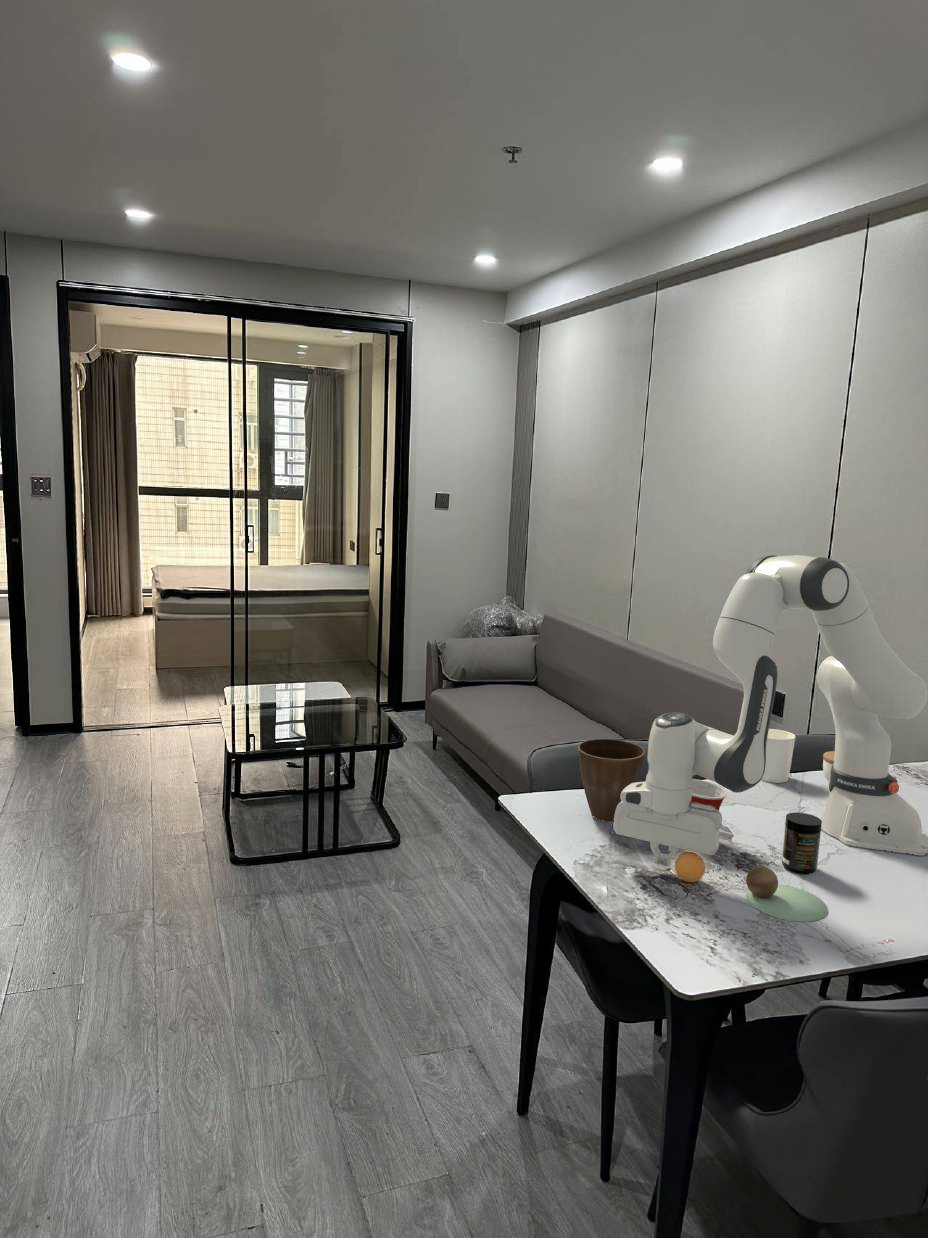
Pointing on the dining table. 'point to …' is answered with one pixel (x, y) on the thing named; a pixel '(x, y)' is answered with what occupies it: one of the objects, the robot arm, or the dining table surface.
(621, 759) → the plant pot
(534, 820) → the dining table surface
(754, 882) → the walnut ball
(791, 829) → the supplement container
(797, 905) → the sage mark
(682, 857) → the orange ball
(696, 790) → the plastic cup
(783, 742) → the white tapered cylinder
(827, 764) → the lidded jar
